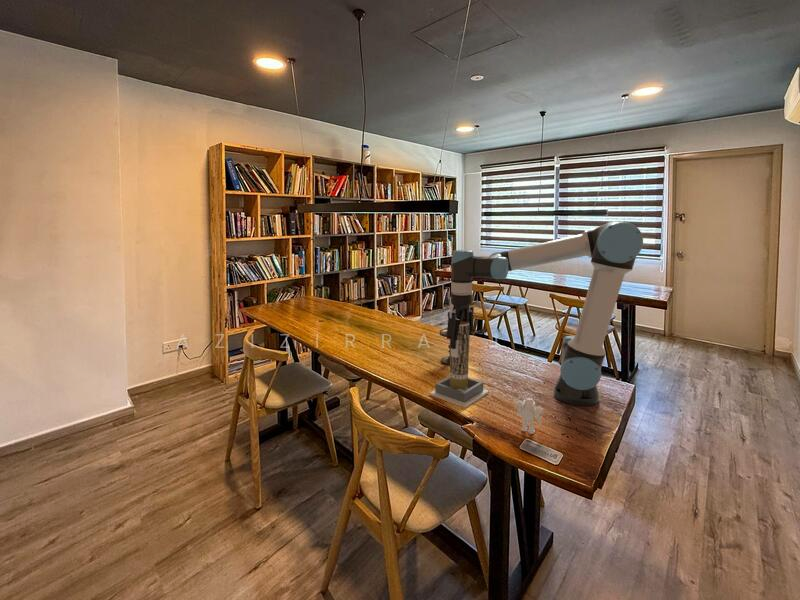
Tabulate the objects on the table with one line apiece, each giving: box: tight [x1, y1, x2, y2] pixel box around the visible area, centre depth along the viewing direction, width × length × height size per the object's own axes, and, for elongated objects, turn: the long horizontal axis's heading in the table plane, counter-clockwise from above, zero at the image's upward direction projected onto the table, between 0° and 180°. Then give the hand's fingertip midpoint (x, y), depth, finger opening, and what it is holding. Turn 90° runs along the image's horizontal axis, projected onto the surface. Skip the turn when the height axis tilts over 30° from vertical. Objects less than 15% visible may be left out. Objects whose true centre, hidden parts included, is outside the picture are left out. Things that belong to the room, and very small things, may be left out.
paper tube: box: [449, 321, 470, 389], centre depth 147 cm, size 7×7×25 cm
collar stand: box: [429, 375, 490, 409], centre depth 149 cm, size 16×16×4 cm
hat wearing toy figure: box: [514, 393, 545, 435], centre depth 122 cm, size 9×4×12 cm, turn 48°
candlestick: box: [439, 291, 453, 366], centre depth 180 cm, size 11×11×35 cm
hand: (460, 353), depth 147 cm, fingers closed on paper tube, 7 cm apart
